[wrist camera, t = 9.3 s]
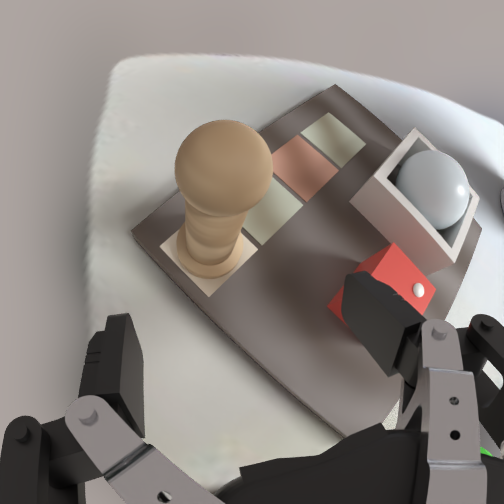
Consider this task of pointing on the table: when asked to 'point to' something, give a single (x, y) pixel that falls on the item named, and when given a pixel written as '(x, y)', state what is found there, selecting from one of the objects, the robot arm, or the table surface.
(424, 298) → the die
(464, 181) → the white ball
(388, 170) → the housing
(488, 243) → the table surface
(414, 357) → the robot arm
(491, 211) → the table surface
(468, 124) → the table surface
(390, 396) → the board
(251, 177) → the pawn
